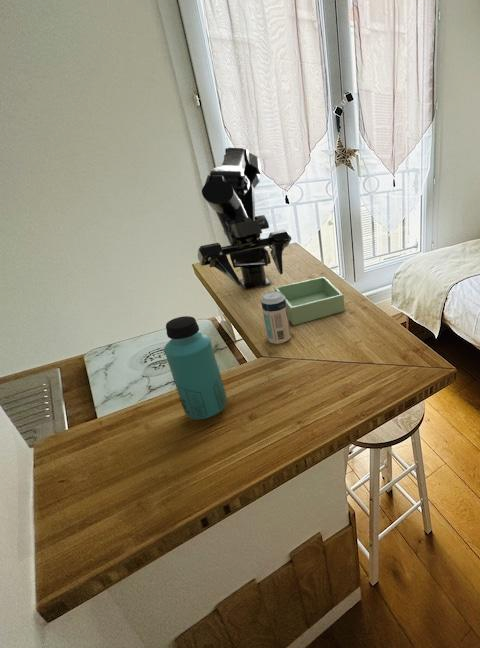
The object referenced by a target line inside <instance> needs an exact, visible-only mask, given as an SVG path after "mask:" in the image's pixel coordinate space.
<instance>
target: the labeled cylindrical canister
mask: <svg viewBox="0 0 480 648" xmlns="http://www.w3.org/2000/svg"><path fill="white" fill-rule="evenodd" d="M260 302H261V309H262V314H263V319H264V325H265V332H266V336H267V337H266V338H267V340H268V342H269V343H271V344H275V345H277V344H283V343H286V342H287V341H289V340H290V339H291V337H292V333H291V327H290V320H289V319H288V313H287V306H286V300H285V296H284V295H283V294H282V293H281V292H279V291H275V290H271V291H268V292H265V293H263V295H262V297H261V299H260Z"/></svg>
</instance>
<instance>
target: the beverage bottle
mask: <svg viewBox="0 0 480 648" xmlns="http://www.w3.org/2000/svg"><path fill="white" fill-rule="evenodd" d="M165 330H166V335H167V337H168V339H170V340H169V341H167V343H166V344H165V346H164V347H163V353H164V355H165V358H166V360H167V363H168V367H169V370H170V373H171V376H172V380H173V382H174V386H175V390H176V391H177V392H176V393H177V396H178V400H179V402H180V404H181V407H182V410H183V413H184V415H185V416H186V417H188V418H189V419H192V420H204V419H209V418H211V417H213V416H217V414H219V413H220V412H221V411H223V410H224V409H225V407H226V405H227V402H228V394H227V390H226V389H225V388H226V387H225V384H224V381H223V378H222V374H221V371H220V368H219V365H218V361H217V359H216V355H215V352H214V348H213V345H212V340H211V338H210V336H209V335H208V334H206V333H202V332H199V331H200V327H199V324H198V322H197V319H196V318H195V317H193V316H190V315H189V316H186V315H185V316H179V317H174V318H173V319H170V320H169V321H167V322H166V324H165Z"/></svg>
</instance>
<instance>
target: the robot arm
mask: <svg viewBox="0 0 480 648" xmlns="http://www.w3.org/2000/svg"><path fill="white" fill-rule="evenodd" d="M260 175H262V165H261V162H260V159H259V157H258V156H257V155H255V154H253V153H251V152H249V150H248V148H245V147H237V146H235V147H233V146H229V147H225V149H224V156H223V160H222V164H221V165H220V166H217V167H214V168H212V169H211V170H210V172H209V174H207V177H206V180H205V183H204V185H203V187H202V188H201V195H202V197H203V198H204V200H205V201H206V202H207V204H208V205H209V206H210V207H211V209H212V210H213V211H215V213H216V216H217V218H218V220H219V222H220V225H221V227H222V229H223V233H224V235H225V236H226V238H227V240H228V243H229V245H225V246H222V245H221V244H220V242H213V243H208V244H203V245H199V248H198V249H197V258H198V261H199V264H200V266H208V267H209V268H215V269H217V270H218V271H219V272H221V273H222V274H224V275H225V276H226V277H227V278H229V280H231V281H232V282H233V283H234V284H235V285H236V286H237V287H239V286H241V285H242V286H243V288H244V289H245V290H249V289H254V288H259V287H264V286H269V285H271V281H270V280H269V279H268V278H267V276H266V271H265V267H268V265H270V264H272V260H273V263H274V266H275V267H276V270H277V272H278V273H279V275H283V274H284V270H283V252H284V250H285V249H286V248H288V246H289V245H290V243H291V241H292V236H291V234H290V232H289V231H287V230H286V229H282V230H277V231H271V232H269V233H268V237H266V238H261V234H263V230H266V229H269V228H270V225H269V222H268V218H267V217H266V215H265V214H262V215H256V203H255V201H256V200H255V188H256V187H257V186H258V185H259V183H260ZM267 247H268V248H269V249H270V252H269V250H268V249H267ZM228 255H229V258H230V260H229V258H228ZM270 255H271V256H270ZM271 258H272V260H271ZM230 261H231V263H230ZM231 264H232V265H231ZM237 268H240V271H241V276H242V278H241V279H239V276H238V275H237V273H236V272H235V270H234V269H237Z"/></svg>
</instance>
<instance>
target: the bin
mask: <svg viewBox="0 0 480 648" xmlns="http://www.w3.org/2000/svg"><path fill="white" fill-rule="evenodd" d="M273 288H274V291H279V292H281V293H282V294H283V295H284V296H285V300H286V306H287V313H288V320H289V322H290V323H291V324H292V326H296V325H300V324H304V323H307V322H310V321H314V320H317V319H320V318H325V317H329V316H331V315H332V316H333V315H335V314H338V313H339V314H340V313H342V312H345V298H344V294H343V293H342V292H341V291H340V290H339V289H338V288H337V287H336V286H335V285H334V284H333V283H332V282H330V280H329V279H327V277H326V276H320V277H317V278H312V279H307V280H302V281H298V282H293V283H287V284H283V285H279V286H275V287H273Z"/></svg>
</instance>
